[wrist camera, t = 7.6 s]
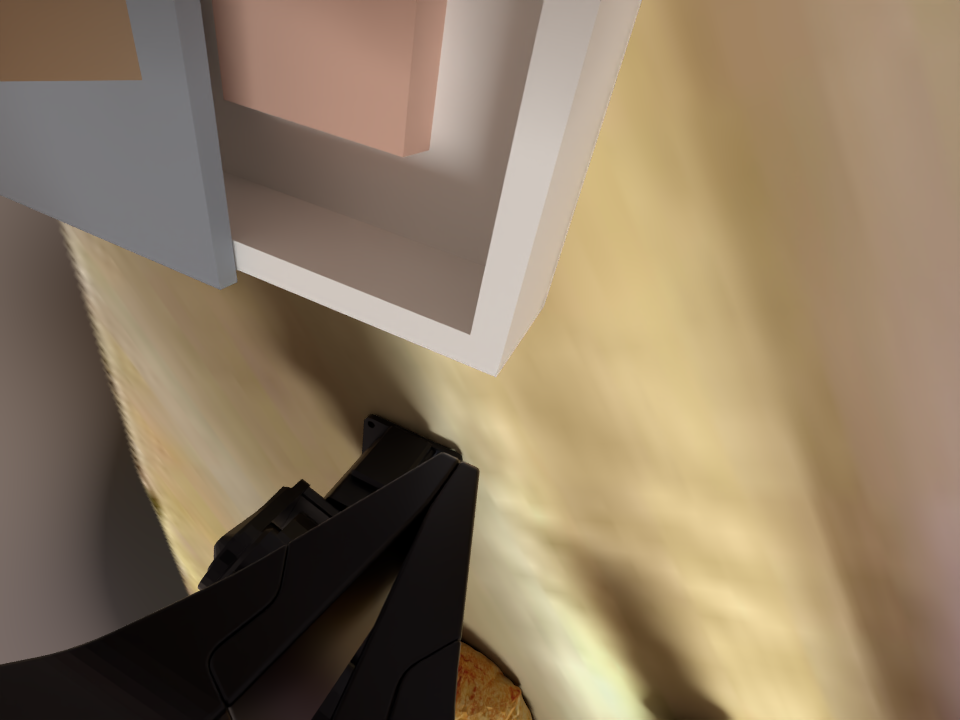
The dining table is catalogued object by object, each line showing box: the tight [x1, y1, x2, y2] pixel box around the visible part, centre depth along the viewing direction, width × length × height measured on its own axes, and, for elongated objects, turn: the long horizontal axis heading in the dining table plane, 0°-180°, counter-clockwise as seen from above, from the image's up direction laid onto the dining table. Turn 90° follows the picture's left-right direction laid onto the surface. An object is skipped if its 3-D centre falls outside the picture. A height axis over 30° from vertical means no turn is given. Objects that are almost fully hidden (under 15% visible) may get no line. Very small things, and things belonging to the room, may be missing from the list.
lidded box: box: [200, 0, 642, 377], centre depth 15 cm, size 16×18×6 cm
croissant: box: [455, 642, 532, 720], centre depth 38 cm, size 21×10×8 cm, turn 42°
